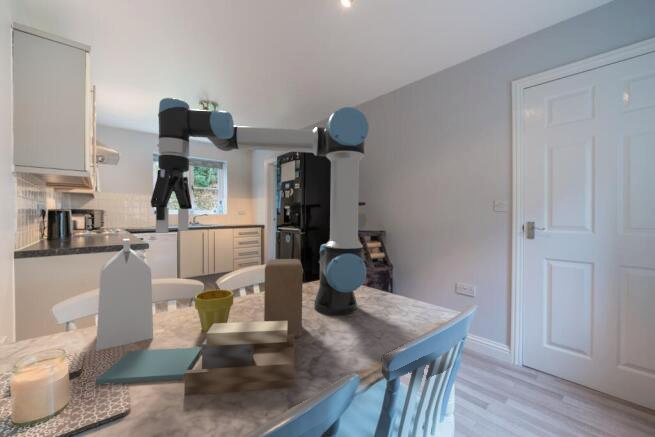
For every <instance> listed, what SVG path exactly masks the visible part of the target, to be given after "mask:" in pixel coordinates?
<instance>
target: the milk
mask: <svg viewBox="0 0 655 437" xmlns="http://www.w3.org/2000/svg"><path fill="white" fill-rule="evenodd" d="M122 240H123V242H122V244H123V246H122V247H123V248H122V249H121V250H119V252H117V253H116V254H115V255H113V256H112V257H111V258H110V259H109V260H107V262H105V263H104V264H103V265H102V267H101V269H100V274H99V275H100V276H99V292H98V293H99V295H98V308H97V309H98V312H97V330H96V343H95V344H96V346H95V348H96V349H95V351H96V352H97V351H103V350H106V348H107V349H111V347H112V348H115V347H121V346H124V345H129V344H133V343H139V342H142V341H148V340H150V339H154V319H153V316H154V314H153V288H152V287H153V286H152V267H151V264H150V262H149V261H147V260H146V258H147V256H146V255H145V254H144V253H143V252H141V251H140V250H137V251H135V250H133V249H132V248H131V243H130V242H131V240H130V238H123V239H122ZM102 349H103V350H102Z"/></svg>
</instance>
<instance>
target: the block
mask: <svg viewBox="0 0 655 437" xmlns="http://www.w3.org/2000/svg"><path fill="white" fill-rule="evenodd" d="M303 269H304V268H303V264H302V262H301V260H300V259H298V258H285V259H284V258H272V259H268V260H266V263H265V267H264V306H263V307H264V308H263V309H264V311H263V312H264V313H263V314H264V316H263V319H264V320H263V322H264V321H288V330H287V335H290V334H294V339H296V338H297V339H298V338H300V337H302V333H303V277H304V276H303V272H304V271H303Z"/></svg>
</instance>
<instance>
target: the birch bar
mask: <svg viewBox="0 0 655 437" xmlns="http://www.w3.org/2000/svg"><path fill="white" fill-rule="evenodd" d="M287 330H288V321H264V320H263V321H246V322H245V321H244V322H242V321H241V322H227V323H214V324H213V325H212V326H211V328H210V329H209V331H208V332H206V337H205V340H206V346H215V345H235V344H256V343H276V342H287Z"/></svg>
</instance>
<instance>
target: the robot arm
mask: <svg viewBox="0 0 655 437" xmlns="http://www.w3.org/2000/svg"><path fill="white" fill-rule="evenodd" d="M158 105H159V107H158V114H157V116H158V143H157V147H158V154H160V155H159V156H158V169H157V174H156V176H157V177H156V181H155V184H154V188H153V192H152V194H151V198H150V206H151V208H155V234H168V233H169V210H170V209H169V207H167V206H168V204H169V202H170V199H171V197H172V194H173V192H174V195H175V198H176V200H177V203H178V206H179V208H178V209H177V210H178V211H177V212H178V213H177V215H178V216H177V220H178V221H177V222H178V224H177V229H178V231H189V213H190V212H189V210H191V209H193V206H192V199H191V196H190V195H191V194H190V188H189V178H188V176H184V173H186V172H189V171H190V158H189V157H190V137H192V138H205V139H208V140H209V142H211V143H212V144H213V145H214V146H215V147H216V148H217V149H219V150H220V151H223V152H230V151H232V150H251V151H252V150H253V151H272V152H273V151H274V152H291V153H292V152H294V153H295V152H297V153H311V154H312V153H313V155H314V156H316V157H318V156H319V157H326V159H328V160H329V161H330V201H329V202H330V204H329V205H330V207H329V208H330V209H329V211H330V214H329V215H330V216H329V229H330V230H329V239H328V241H327V242H326V243H323V244H321V245H320V248H319V287H318V288H317V293H316V296H315V299H314V310H315V311H317V312H318V313H322V314H324V315H330V316H344V315H349V314H352V313H354V312H355V311H357V307H358V306H357V305H358V304H357V299H356V295H355V292H354V291H357V290H358V289H360V288H361V287H362V285H363V284H364V282H365V281H366V278H367V267H366V264H365V262H364V260H363V259H364V258H363V257H364V256H363V255H364V254H363V253H364V250H363V248H364V246H363V244H362V243H361V242H360V241H359V190H360V188H359V186H360V182H359V180H360V176H359V175H360V161H361V160H362V159H363V158H365V141H366V139H367V136H368V134H369V128H370V126H369V122H368V119H367V117H366V116H365V114H364V113H363V112H361V110H359V109H357V108H355V107H351V106H344V107H340V108H339V109H337V110H335V111H334V112H333V113H332V114H331V116H329V119H328V122H327V125H326V126H323V127H318V126H317V127H315V128H314V129H298V128H279V127H263V126H260V127H259V126H245V125H244V126H243V125H235V124H234V119H233V114H231V113H230V112H229V111H223V110H219V109H215V110H213V109H211V110H210V109H207V110H206V109H194V108H190V105H189V103H188V102H186V101H185V100H182V99H179V98H174V97H164V98H162V99H161V100H159V104H158Z"/></svg>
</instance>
